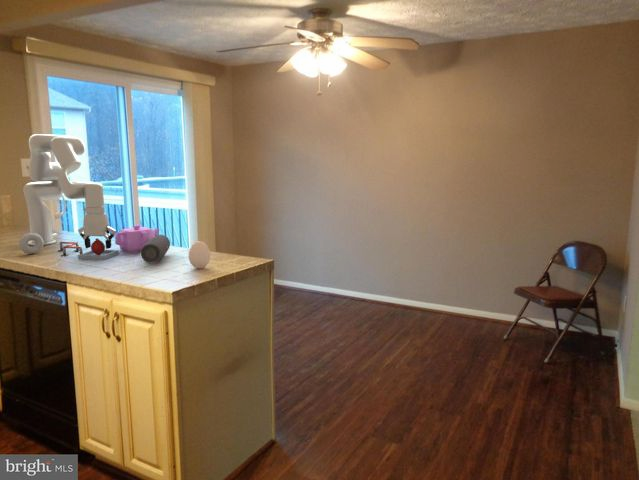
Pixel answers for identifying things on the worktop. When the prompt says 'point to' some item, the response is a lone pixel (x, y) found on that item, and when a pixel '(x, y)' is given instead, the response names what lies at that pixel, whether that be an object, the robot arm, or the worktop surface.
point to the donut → (26, 238)
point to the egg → (199, 254)
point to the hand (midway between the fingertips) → (98, 247)
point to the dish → (103, 256)
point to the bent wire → (63, 248)
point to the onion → (98, 247)
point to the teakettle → (134, 238)
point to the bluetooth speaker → (155, 248)
